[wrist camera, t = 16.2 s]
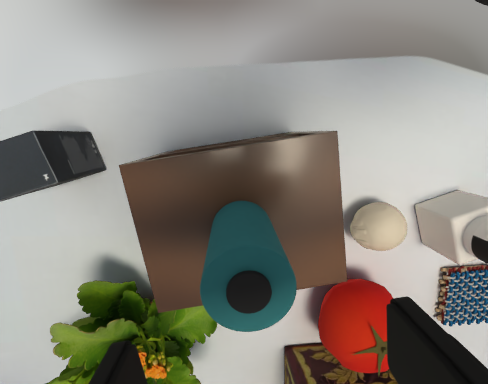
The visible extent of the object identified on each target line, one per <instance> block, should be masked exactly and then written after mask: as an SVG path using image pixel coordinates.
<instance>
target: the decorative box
mask: <svg viewBox="0 0 488 384" xmlns="http://www.w3.org/2000/svg"><path fill="white" fill-rule="evenodd" d="M285 384H398V383H397V381H396V380H395V378H394V377H393V375H392V373H391V371H390V369H388V370H387V371H385V372H380V375H379V376H378V372H376V373H360V372H355V371H352V370H350V369H347V368H345V367H343V366H342V365H341V364H340V362H339V361H338V360H337V359H336V358H335V357H334V356H333V355H332V354H331V353H330V352H329V351H328V350H327V349H326V348H325V347H324V346H323V344H322V343H321V344H308V345H296V346H287V347H285Z"/></svg>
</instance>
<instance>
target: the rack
mask: <svg viewBox="0 0 488 384" xmlns="http://www.w3.org/2000/svg"><path fill="white" fill-rule="evenodd" d="M119 168H120V172H121V175H122V179H123V183H124V187H125V190H126V194H127V198H128V202H129V205H130V209H131V213H132V217H133V220H134V224H135V228H136V232H137V235H138V239H139V243H140V247H141V250H142V254H143V258H144V262H145V265H146V269H147V273H148V277H149V280H150V284H151V288H152V292H153V295H154V299H155V303H156V307H157V310H158V313H161V312H167V311H173V310H179V309H185V308H191V307H197V306H203V304H202V301H201V296H200V283H201V278H202V273H203V268H204V263H205V258H206V253H207V248H208V243H209V238H210V233H211V228H212V223H213V220H214V218H215V216H216V214H217V213H218V212H219V210H220V209H221V208H223V207H224V206H225V205H227V204H229V203H232V202H235V201H249V202H252V203H255V204H257V205H259V206H260V207H261V208H263V210H264V211H265V212H266V213H267V215H268V217H269V219H270V221H271V223H272V225H273V227H274V230H275V232H276V234H277V236H278V238H279V241H280V243H281V245H282V247H283V249H284V252H285V254H286V256H287V258H288V260H289V262H290V265H291V267H292V269H293V271H294V274H295V277H296V283H297V290H299V289H305V288H311V287H317V286H323V285H329V284H335V283H341V282H347V271H346V256H345V241H344V226H343V211H342V196H341V181H340V166H339V151H338V135H337V131H310V132H288V133H281V134H275V135H269V136H262V137H256V138H250V139H243V140H237V141H231V142H224V143H218V144H212V145H205V146H199V147H192V148H186V149H180V150H173V151H167V152H164V153H160V154H157V155H153V156H150V157H146V158H143V159H139V160H136V161H132V162H129V163H125V164H122V165H119Z"/></svg>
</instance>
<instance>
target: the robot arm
mask: <svg viewBox="0 0 488 384" xmlns="http://www.w3.org/2000/svg"><path fill="white" fill-rule="evenodd" d="M386 313H387V361H388V366H389V369H390V371H391V373H392V375H393V377H394V378H395V380H396V381H397V383H398V384H488V369H487V368H486V367H485V366H484V365H483V364H482V363H481V362H480V361H479V360H478V359H477V358H476V357H474V356H473V355H472V354H471V353H470V352H469V351H468V350H467V349H466V348H465V347H464V346H463V345H462V344H461V343H460V342H459V341H457V340H456V339H455V338H454V337H453V336H451V335H450V334H448V333H446V332H445V331H444V330H443V329H442V328H441V327H440V326H439V325H438V324H437V323H436V322H435V321H434V320H433V319H432V318H431V317H430V316H429V315H428V314H427V313H426V312H424V311H423V310H422V309H421V308H420V307H419V306H418V305H417V304H416V303H415V302H414V301H413V300H412V299H411V298H409V297H401V298H395V299H391V300H390V304H387V306H386ZM89 384H148V383H147V380H146V377H145V373H144V370H143V367H142V364H141V360H140V357H139V354H138V351H137V347H136V345H135V344H132V343H131V342H130V341H122V342H116V343H112V344H111V346H110V347H109V349H108V350H107V352H106V354H105V356H104V357H103V359H102V361H101V363H100V364H99V366H98V368H97V370H96V371H95V373H94V375H93V377H92V378H91V380H90V382H89Z"/></svg>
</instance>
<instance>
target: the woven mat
mask: <svg viewBox="0 0 488 384" xmlns="http://www.w3.org/2000/svg"><path fill="white" fill-rule="evenodd" d="M484 269H485V270H484ZM470 270H471V271H470ZM479 270H480V271H479ZM441 272H447V274H446V275H445V276H444V275H443V279H445V280H439V283H440V284H446V285H445V286H443V287H441V290H442V291H443V292H440V295H441V296H444V297H439V298H438V300H439V301H441V302H442V301H444V302H443V303H441V304H439V308H435V310H436V312H442V314H440V315H438V316H437V319H438V320H439V321H441V323H442V324H443V325H446V323H447V322H448V321H449V326H452V325H453V324H455V323H458V325H459V326H460V325H461V324H464V322H465V321H466V320H467V324H468V325H470V324H471V323H473V321H475V319H476V323H477V324H479V323H480V322H482V320H484V319H485V323H488V277H487V276H488V265H487V266H486V265H477V266H465V267H464V266H461V267H460V268H458V267H453V268H442V269H441ZM451 272H452V273H451ZM469 277H470V278H469ZM459 278H460V279H459ZM485 287H486V288H485ZM444 291H445V292H444ZM470 299H471V300H470ZM472 311H473V312H472ZM471 318H472V319H471Z"/></svg>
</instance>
